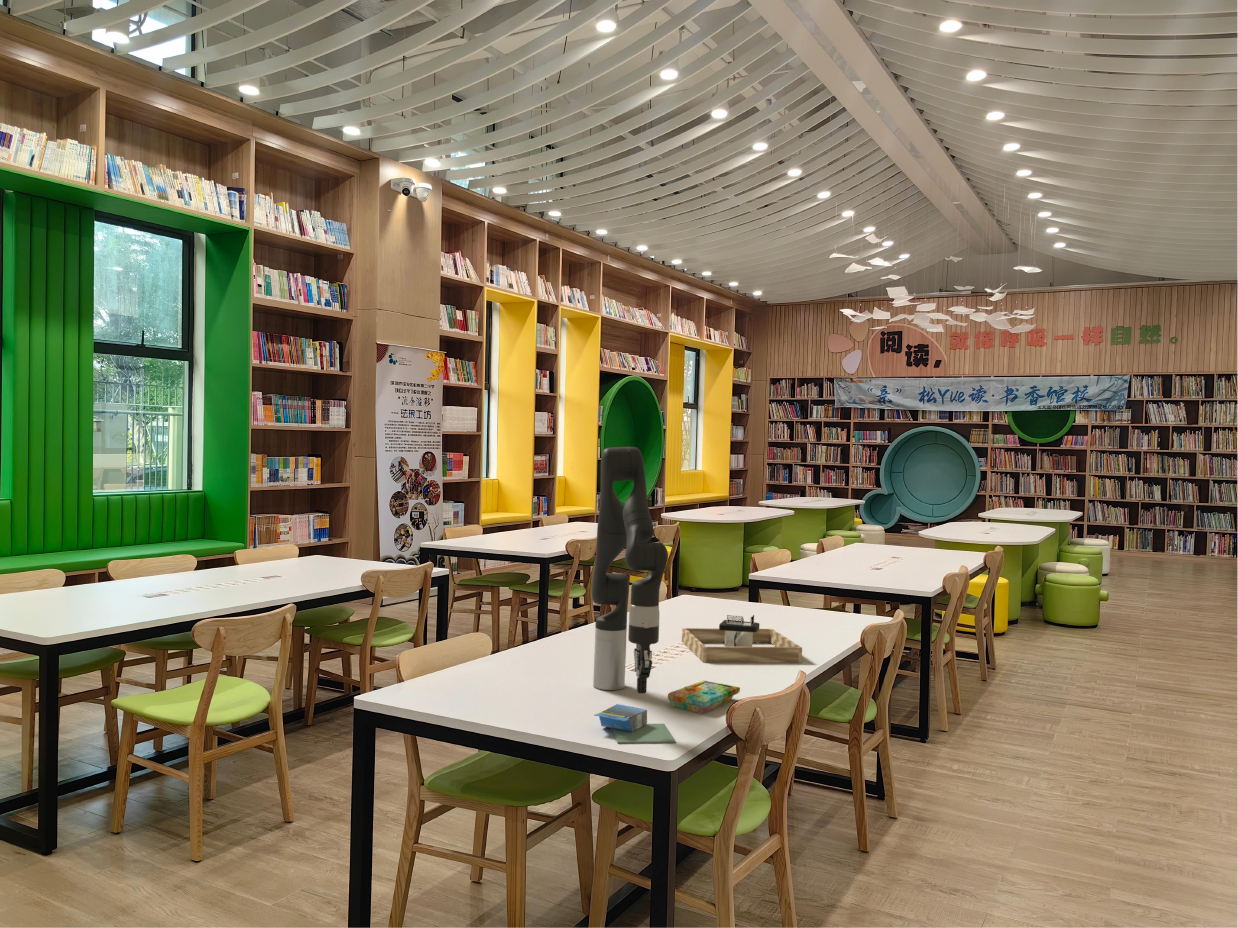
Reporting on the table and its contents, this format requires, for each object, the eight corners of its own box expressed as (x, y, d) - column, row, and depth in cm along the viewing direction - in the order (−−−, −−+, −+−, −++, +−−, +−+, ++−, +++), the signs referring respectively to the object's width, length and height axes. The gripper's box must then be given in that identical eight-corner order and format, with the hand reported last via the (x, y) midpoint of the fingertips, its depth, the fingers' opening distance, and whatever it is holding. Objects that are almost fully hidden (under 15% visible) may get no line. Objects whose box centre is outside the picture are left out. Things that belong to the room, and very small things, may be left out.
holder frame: (681, 641, 332) (682, 628, 332) (771, 642, 337) (772, 628, 337) (702, 662, 300) (703, 647, 300) (801, 662, 305) (802, 647, 305)
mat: (609, 725, 226) (609, 723, 226) (664, 724, 228) (664, 723, 228) (617, 743, 212) (617, 741, 212) (675, 742, 215) (675, 741, 215)
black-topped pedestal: (691, 655, 311) (693, 617, 311) (707, 641, 336) (708, 605, 336) (773, 664, 303) (774, 624, 302) (783, 649, 328) (784, 612, 327)
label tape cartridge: (616, 718, 231) (592, 730, 220) (616, 703, 231) (592, 714, 220) (647, 724, 227) (624, 736, 216) (647, 708, 227) (624, 720, 216)
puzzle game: (667, 690, 245) (703, 677, 262) (667, 708, 245) (703, 693, 262) (705, 698, 238) (739, 684, 255) (705, 716, 238) (739, 700, 255)
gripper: (624, 617, 229) (622, 685, 229) (633, 627, 215) (630, 699, 216) (653, 617, 230) (651, 685, 230) (664, 628, 217) (661, 699, 217)
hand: (641, 692), depth 223 cm, fingers closed
